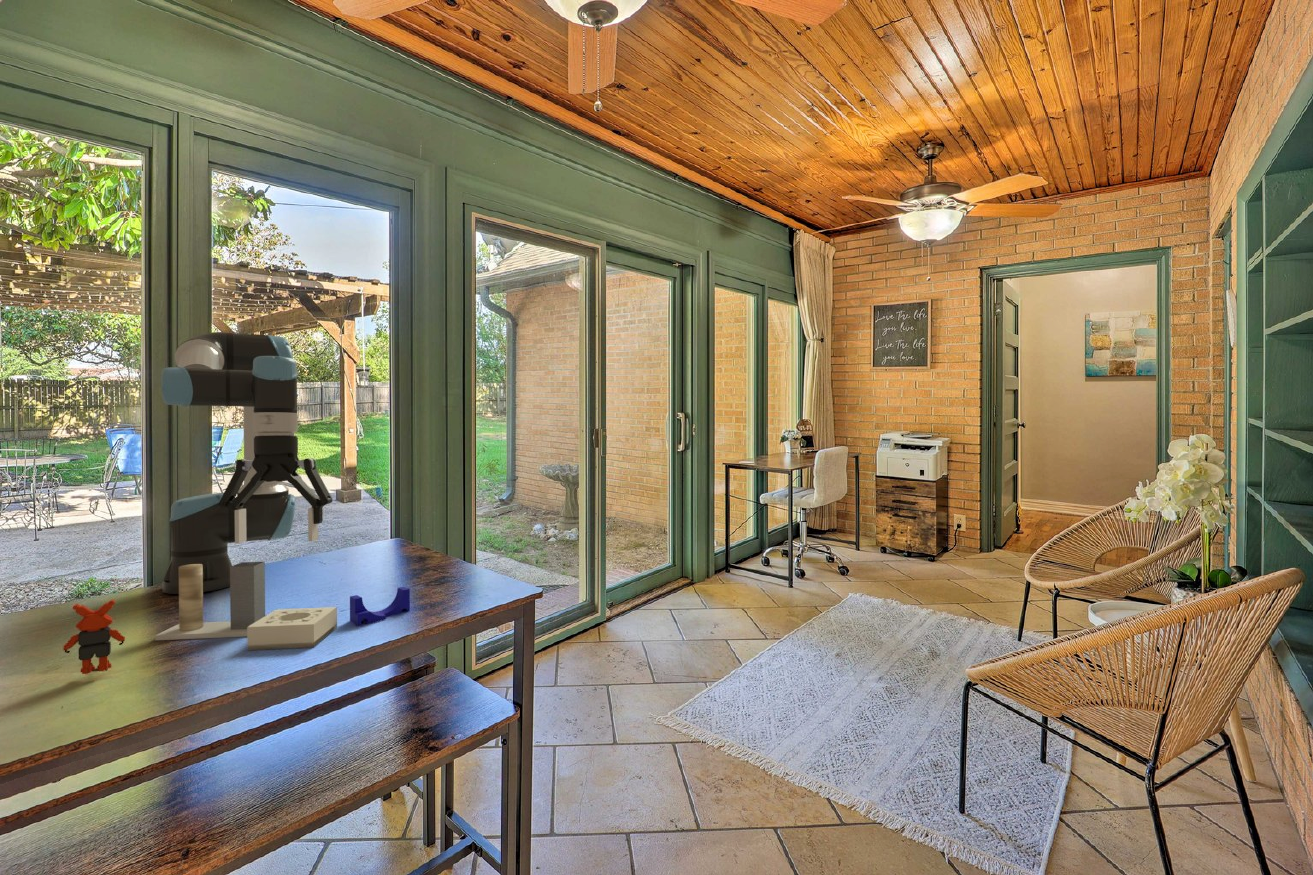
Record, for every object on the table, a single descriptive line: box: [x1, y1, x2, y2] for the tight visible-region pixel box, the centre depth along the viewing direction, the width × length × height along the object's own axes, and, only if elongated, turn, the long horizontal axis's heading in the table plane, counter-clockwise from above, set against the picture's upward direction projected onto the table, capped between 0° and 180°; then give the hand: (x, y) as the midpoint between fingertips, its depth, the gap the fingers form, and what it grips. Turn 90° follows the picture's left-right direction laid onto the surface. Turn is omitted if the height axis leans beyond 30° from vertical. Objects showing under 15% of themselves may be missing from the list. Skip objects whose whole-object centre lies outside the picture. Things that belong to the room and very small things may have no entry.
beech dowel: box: [178, 564, 204, 631], centre depth 131 cm, size 4×4×13 cm
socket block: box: [246, 606, 338, 651], centre depth 127 cm, size 12×12×4 cm
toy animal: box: [62, 599, 126, 675], centre depth 111 cm, size 8×5×12 cm
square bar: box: [229, 561, 266, 630], centre depth 132 cm, size 5×5×13 cm
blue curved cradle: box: [349, 586, 411, 627], centre depth 140 cm, size 12×4×6 cm, turn 136°
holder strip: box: [154, 620, 247, 641], centre depth 132 cm, size 8×20×1 cm, turn 98°
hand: (277, 541), depth 125 cm, fingers open, 13 cm apart
